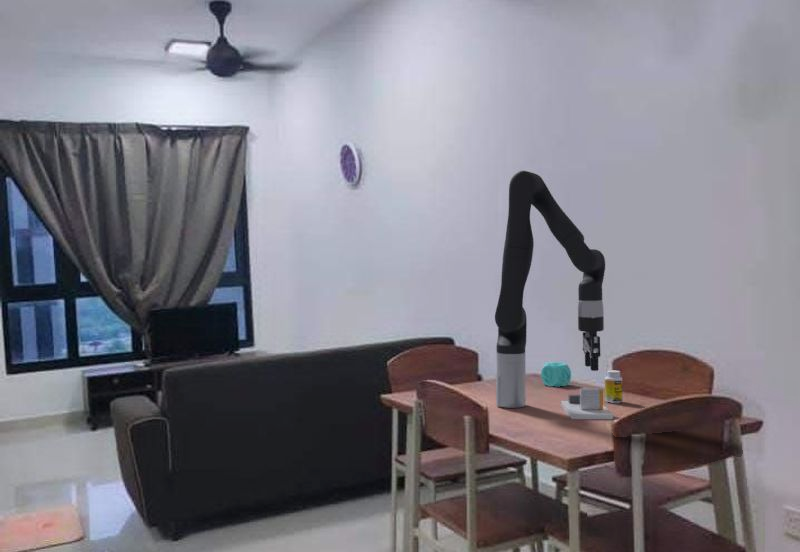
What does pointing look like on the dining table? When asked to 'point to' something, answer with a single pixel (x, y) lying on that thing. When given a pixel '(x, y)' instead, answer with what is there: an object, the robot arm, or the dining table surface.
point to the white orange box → (591, 398)
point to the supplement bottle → (613, 387)
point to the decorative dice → (556, 374)
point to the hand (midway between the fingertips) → (591, 368)
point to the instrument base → (576, 413)
